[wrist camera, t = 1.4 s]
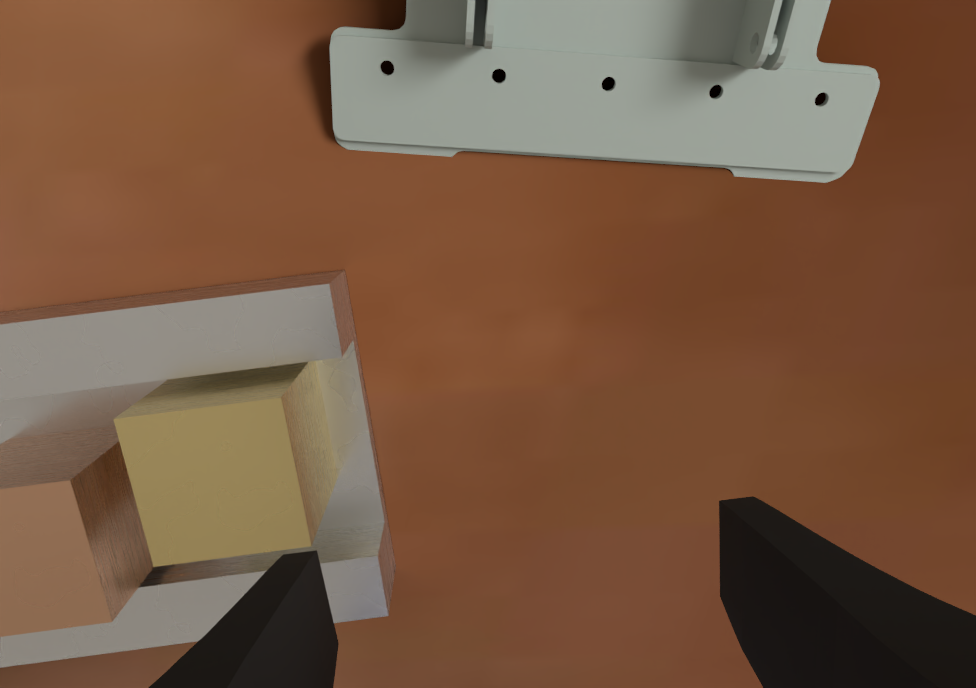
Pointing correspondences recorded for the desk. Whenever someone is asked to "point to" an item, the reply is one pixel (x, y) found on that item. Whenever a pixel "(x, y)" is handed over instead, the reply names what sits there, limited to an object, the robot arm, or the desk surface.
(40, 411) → the aluminium channel
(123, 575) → the copper cube
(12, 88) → the desk surface
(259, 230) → the desk surface
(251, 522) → the brass cube
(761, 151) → the metal bracket
